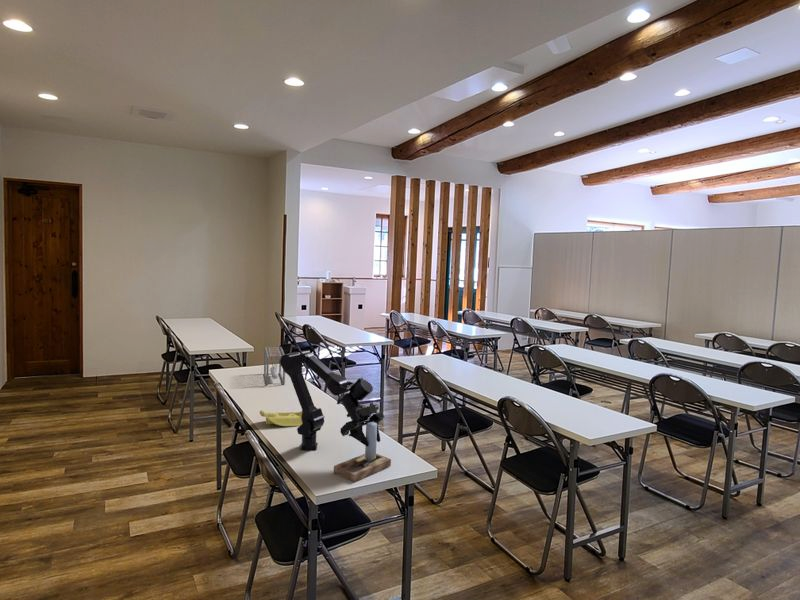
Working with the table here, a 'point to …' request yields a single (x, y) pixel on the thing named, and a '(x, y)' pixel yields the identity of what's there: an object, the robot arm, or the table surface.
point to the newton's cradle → (273, 369)
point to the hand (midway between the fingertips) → (373, 443)
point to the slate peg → (370, 442)
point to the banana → (283, 418)
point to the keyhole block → (371, 468)
